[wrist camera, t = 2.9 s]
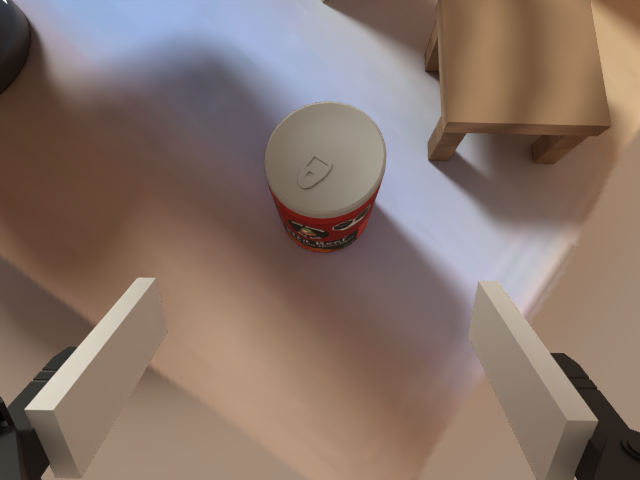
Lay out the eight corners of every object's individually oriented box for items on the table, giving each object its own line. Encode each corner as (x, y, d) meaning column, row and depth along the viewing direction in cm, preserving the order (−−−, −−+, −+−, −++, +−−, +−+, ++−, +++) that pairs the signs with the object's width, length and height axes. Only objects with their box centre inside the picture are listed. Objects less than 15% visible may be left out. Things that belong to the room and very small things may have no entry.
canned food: (269, 239, 35) (244, 192, 24) (300, 160, 36) (290, 85, 26) (352, 267, 34) (364, 233, 23) (379, 185, 36) (402, 119, 25)
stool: (425, 163, 36) (448, 121, 29) (421, 52, 39) (441, -8, 32) (557, 166, 36) (611, 125, 29) (543, 55, 39) (589, -6, 32)
